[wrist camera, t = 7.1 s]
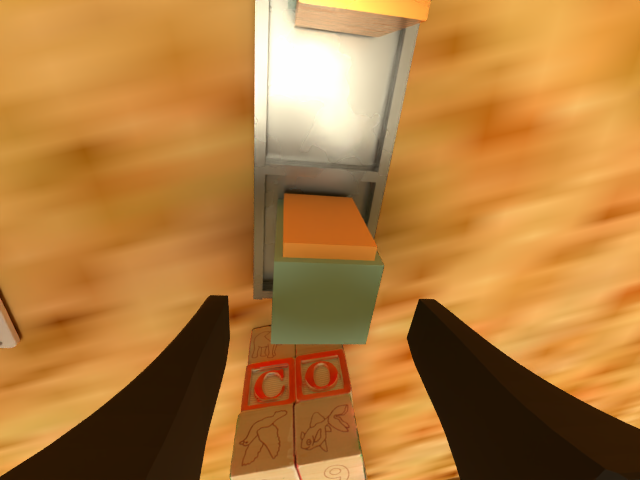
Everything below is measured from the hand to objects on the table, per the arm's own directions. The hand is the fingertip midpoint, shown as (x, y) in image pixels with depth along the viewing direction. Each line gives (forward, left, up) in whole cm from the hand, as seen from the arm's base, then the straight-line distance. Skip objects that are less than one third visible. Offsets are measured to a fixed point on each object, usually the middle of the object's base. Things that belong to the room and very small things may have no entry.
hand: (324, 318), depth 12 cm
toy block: (0, 0, -7) cm, 7 cm away
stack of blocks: (+2, -18, -8) cm, 20 cm away
